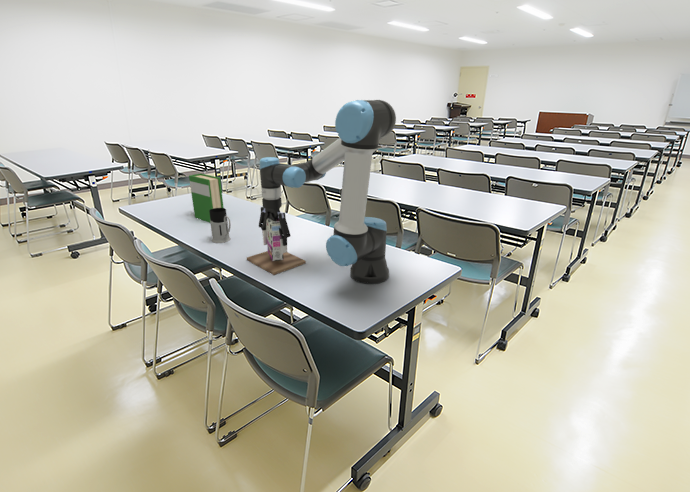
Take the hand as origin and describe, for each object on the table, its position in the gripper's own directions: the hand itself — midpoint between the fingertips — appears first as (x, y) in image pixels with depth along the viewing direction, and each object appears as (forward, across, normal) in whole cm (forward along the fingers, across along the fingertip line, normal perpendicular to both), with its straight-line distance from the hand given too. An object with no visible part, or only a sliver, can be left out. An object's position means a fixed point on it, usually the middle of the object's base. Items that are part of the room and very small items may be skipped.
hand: (275, 248), depth 161 cm
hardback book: (+6, -74, +7) cm, 75 cm away
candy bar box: (+4, 0, 0) cm, 4 cm away
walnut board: (+6, 0, 0) cm, 6 cm away
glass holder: (+6, -37, -4) cm, 38 cm away
